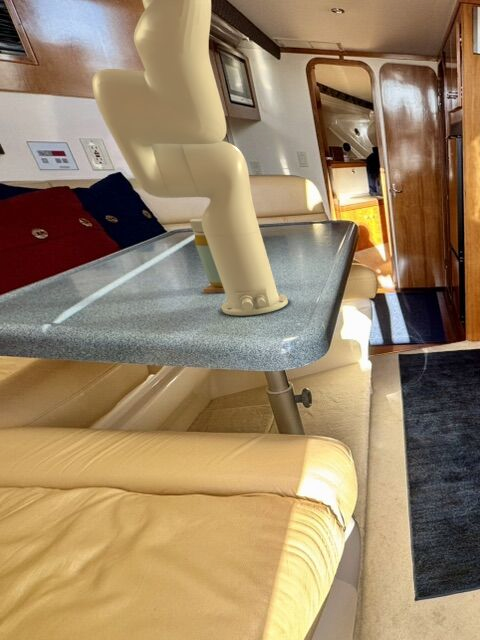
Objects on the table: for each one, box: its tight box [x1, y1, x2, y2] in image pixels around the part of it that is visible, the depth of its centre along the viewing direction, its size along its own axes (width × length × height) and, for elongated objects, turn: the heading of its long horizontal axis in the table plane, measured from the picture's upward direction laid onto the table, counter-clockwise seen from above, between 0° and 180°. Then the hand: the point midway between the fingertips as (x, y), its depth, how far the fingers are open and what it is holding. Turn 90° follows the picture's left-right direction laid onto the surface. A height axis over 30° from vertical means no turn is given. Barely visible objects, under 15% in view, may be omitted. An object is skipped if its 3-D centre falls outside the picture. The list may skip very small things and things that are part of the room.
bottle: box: [188, 217, 223, 287], centre depth 95 cm, size 7×7×15 cm
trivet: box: [203, 284, 225, 294], centre depth 99 cm, size 8×8×1 cm
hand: (204, 129), depth 91 cm, fingers open, 9 cm apart
